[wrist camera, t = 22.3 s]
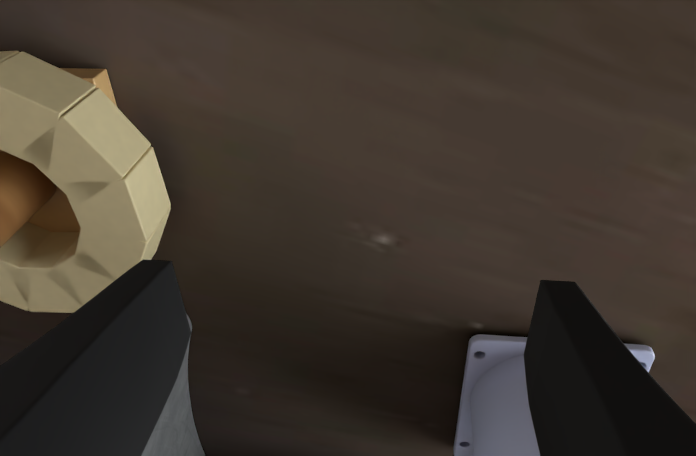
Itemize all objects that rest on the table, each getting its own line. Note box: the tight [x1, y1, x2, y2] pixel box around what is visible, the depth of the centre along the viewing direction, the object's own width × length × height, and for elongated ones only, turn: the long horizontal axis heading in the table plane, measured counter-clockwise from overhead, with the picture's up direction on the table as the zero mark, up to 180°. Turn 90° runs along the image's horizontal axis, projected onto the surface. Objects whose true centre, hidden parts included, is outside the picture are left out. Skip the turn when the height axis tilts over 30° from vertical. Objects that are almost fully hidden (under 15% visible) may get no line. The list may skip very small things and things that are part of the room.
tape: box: [0, 51, 171, 313], centre depth 21 cm, size 10×10×2 cm
